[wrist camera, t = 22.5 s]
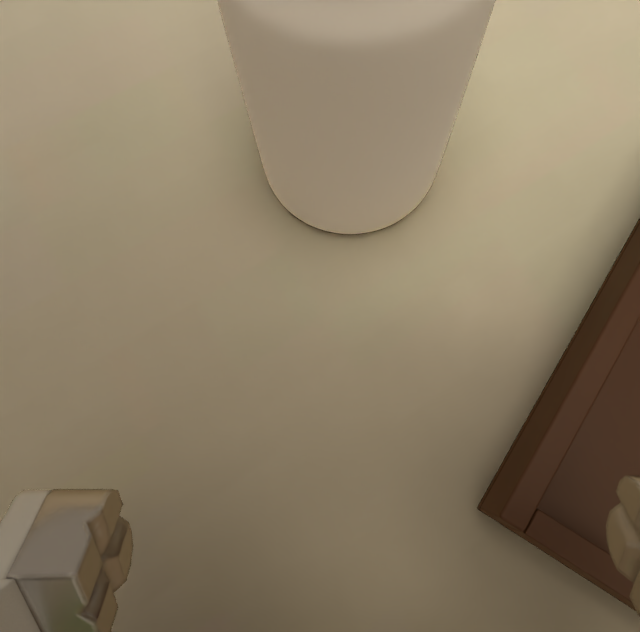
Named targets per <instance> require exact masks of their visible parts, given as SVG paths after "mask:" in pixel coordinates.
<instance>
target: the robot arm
mask: <svg viewBox="0 0 640 632" xmlns="http://www.w3.org/2000/svg"><path fill="white" fill-rule="evenodd" d="M616 493H617V495H618V497H619V499H620V501H621V502H620V503H619V504H618V505H617V506H615V507H614V508H613V509H611V510H610V511H609V515H608V519H607V523H606V537H607V544H608V548H609V552H610V555H611V558H612V560H613V562H614V564H615V566H616V569H617V570H618V571H619V572H620V573H621V574H623V575H624V576H625V577H626V578H628V579H629V580H630V581H631V582H633V586H632V589H631V593H630V596H629V597H630V599H631V601H632V603H633V605H634V607H635V609H636V611H637V613H638V615H639V618H640V475H625V476H624V477H623V478H622V479H621V480H620V481H619V484H618V487H617V490H616ZM122 506H123V502H122V500H121V497H120V494H119V491H118V490H114V489H53V490H22V491H21V492H20V493H19V494H18V495H16V496H15V497H14V499H13V500H12V502H11V504H10V506H9V508H8V509H7V511H6V513H5V515H4V517H3V518H2V520H1V522H0V632H111V629H112V626H113V623H114V620H115V616H116V613H117V610H118V604H117V601H116V599H115V596H114V592H115V591H116V590H117V589H119V588H120V587H121V586H122V585H123V584H124V583H125V582H126V580H127V577H128V573H129V570H130V566H131V561H132V551H133V539H132V531H131V528H130V524H129V522H128V521H126V520H125V519H124V518H122V517H121V516H120V512H121V509H122Z"/></svg>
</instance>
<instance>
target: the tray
mask: <svg viewBox="0 0 640 632" xmlns="http://www.w3.org/2000/svg"><path fill="white" fill-rule="evenodd" d="M625 475H640V219H639V220H638V222H637V224H636V226H635V228H634V229H633V231H632V233H631V235H630V237H629V238H628V240H627V242H626V244H625V245H624V247H623V249H622V251H621V253H620V254H619V256H618V258H617V260H616V261H615V263H614V265H613V267H612V269H611V270H610V272H609V274H608V276H607V277H606V279H605V281H604V283H603V285H602V286H601V288H600V290H599V292H598V293H597V295H596V297H595V299H594V301H593V302H592V304H591V306H590V308H589V310H588V311H587V313H586V315H585V317H584V318H583V320H582V322H581V324H580V326H579V327H578V329H577V331H576V333H575V334H574V336H573V338H572V340H571V342H570V343H569V345H568V347H567V349H566V350H565V352H564V354H563V356H562V358H561V359H560V361H559V363H558V365H557V366H556V368H555V370H554V372H553V374H552V375H551V377H550V379H549V381H548V383H547V384H546V386H545V388H544V390H543V391H542V393H541V395H540V397H539V399H538V400H537V402H536V404H535V406H534V407H533V409H532V411H531V413H530V415H529V416H528V418H527V420H526V422H525V423H524V425H523V427H522V429H521V431H520V432H519V434H518V436H517V438H516V439H515V441H514V443H513V445H512V447H511V448H510V450H509V452H508V454H507V456H506V457H505V459H504V461H503V463H502V464H501V466H500V468H499V470H498V472H497V473H496V475H495V477H494V479H493V480H492V482H491V484H490V486H489V488H488V489H487V491H486V493H485V495H484V496H483V498H482V500H481V502H480V504H479V505H478V507H477V509H478V510H480V511H481V512H483V513H485V514H486V515H488V516H489V517H491V518H492V519H494V520H495V521H497V522H499V523H500V524H502V525H503V526H505V527H506V528H508V529H509V530H511V531H513V532H514V533H516V534H517V535H519V536H520V537H522V538H523V539H525V540H527V541H528V542H530V543H531V544H533V545H534V546H536V547H537V548H539V549H541V550H542V551H544V552H545V553H547V554H548V555H550V556H551V557H553V558H555V559H556V560H558V561H559V562H561V563H562V564H564V565H565V566H567V567H569V568H570V569H572V570H573V571H575V572H576V573H578V574H579V575H581V576H582V577H584V578H586V579H587V580H589V581H590V582H592V583H593V584H595V585H596V586H598V587H600V588H601V589H603V590H604V591H606V592H607V593H609V594H610V595H612V596H614V597H615V598H617V599H618V600H620V601H621V602H623V603H624V604H626V605H628V606H629V607H631V608H632V609H634V610H635V611H636V609H635V607H634V605H633V603H632V601H631V599H630V597H629V596H630V593H631V589H632V586H633V582H631V581H630V580H629V579H628V578H626V577H625V576H624V575H623V574H621V573H620V572H619V571H618V570H617V569H616V566H615V564H614V562H613V560H612V558H611V555H610V552H609V548H608V544H607V537H606V523H607V519H608V515H609V511H610V510H611V509H613V508H614V507H615V506H617V505H618V504H619V503H620V502H621V501H620V499H619V497H618V495H617V493H616V490H617V487H618V484H619V481H620V480H621V479H622V478H623V477H624V476H625Z"/></svg>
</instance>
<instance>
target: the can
mask: <svg viewBox="0 0 640 632" xmlns="http://www.w3.org/2000/svg"><path fill="white" fill-rule="evenodd" d="M217 1H218V5H219V9H220V13H221V16H222V20H223V24H224V28H225V31H226V35H227V39H228V42H229V46H230V50H231V54H232V57H233V61H234V64H235V68H236V72H237V75H238V79H239V83H240V86H241V90H242V94H243V97H244V101H245V105H246V108H247V112H248V115H249V119H250V123H251V126H252V130H253V133H254V137H255V140H256V144H257V148H258V151H259V155H260V158H261V161H262V165H263V168H264V171H265V174H266V177H267V180H268V182H269V184H270V187H271V189H272V190H273V192H274V194H275V195H276V197H277V198H278V200H279V201H280V202H281V203H282V205H283V206H284V207H285V208H286V209H287V210H288V211H289V212H291V213H292V214H293V215H294V216H296V217H297V218H298V219H300V220H301V221H303V222H305V223H307V224H309V225H311V226H313V227H316V228H318V229H321V230H324V231H328V232H333V233H340V234H361V233H368V232H372V231H376V230H380V229H383V228H385V227H388V226H390V225H392V224H394V223H396V222H398V221H399V220H401V219H402V218H404V217H405V216H407V215H408V214H409V213H410V212H412V211H413V210H414V209H415V208H416V207H417V206H418V205H419V204H420V202H421V201H422V200H423V199H424V197H425V196H426V194H427V193H428V191H429V189H430V187H431V186H432V183H433V181H434V179H435V176H436V174H437V171H438V169H439V166H440V163H441V160H442V157H443V155H444V152H445V149H446V146H447V143H448V140H449V137H450V134H451V131H452V128H453V126H454V123H455V120H456V117H457V114H458V111H459V108H460V105H461V102H462V99H463V96H464V93H465V90H466V87H467V84H468V81H469V78H470V75H471V72H472V70H473V67H474V64H475V61H476V58H477V55H478V52H479V49H480V46H481V43H482V40H483V37H484V34H485V31H486V28H487V25H488V22H489V19H490V16H491V13H492V10H493V7H494V3H495V0H217Z"/></svg>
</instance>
